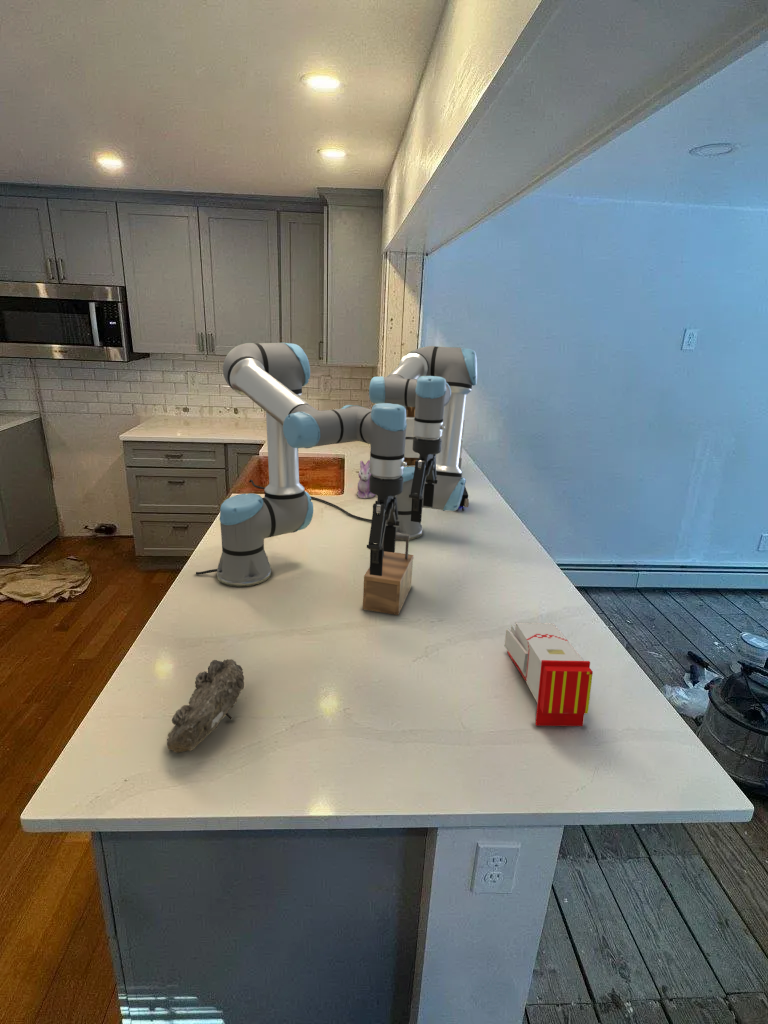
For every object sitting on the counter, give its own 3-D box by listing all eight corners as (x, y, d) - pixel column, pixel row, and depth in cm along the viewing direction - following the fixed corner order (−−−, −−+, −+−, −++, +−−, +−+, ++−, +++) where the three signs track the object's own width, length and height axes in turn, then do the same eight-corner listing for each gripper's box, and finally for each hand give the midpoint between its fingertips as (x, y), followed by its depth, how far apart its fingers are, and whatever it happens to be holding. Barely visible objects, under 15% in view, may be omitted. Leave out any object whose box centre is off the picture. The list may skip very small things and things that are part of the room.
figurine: (361, 500, 232) (362, 464, 227) (351, 492, 241) (352, 458, 236) (382, 497, 237) (383, 462, 232) (371, 490, 245) (372, 456, 240)
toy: (550, 607, 134) (601, 667, 105) (545, 659, 137) (594, 732, 108) (499, 606, 134) (537, 666, 104) (495, 659, 137) (530, 731, 107)
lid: (380, 554, 162) (381, 526, 159) (413, 558, 160) (415, 530, 157) (363, 580, 146) (364, 549, 143) (400, 585, 144) (401, 555, 141)
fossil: (192, 660, 117) (244, 628, 112) (224, 691, 120) (276, 661, 115) (142, 746, 98) (202, 712, 93) (182, 779, 101) (242, 748, 96)
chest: (378, 582, 164) (379, 555, 161) (411, 587, 162) (412, 559, 159) (362, 609, 149) (363, 580, 146) (398, 615, 147) (400, 585, 144)
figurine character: (468, 516, 224) (463, 500, 237) (471, 498, 221) (465, 483, 234) (452, 515, 224) (447, 499, 237) (453, 498, 220) (449, 482, 234)
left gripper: (390, 493, 113) (386, 588, 120) (413, 463, 136) (408, 544, 143) (354, 489, 115) (352, 583, 122) (382, 460, 138) (379, 541, 145)
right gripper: (430, 448, 136) (424, 530, 143) (450, 430, 158) (444, 502, 166) (400, 445, 138) (396, 526, 145) (424, 427, 160) (419, 498, 168)
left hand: (382, 562), depth 133 cm, fingers open, 13 cm apart
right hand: (422, 513), depth 155 cm, fingers open, 13 cm apart
